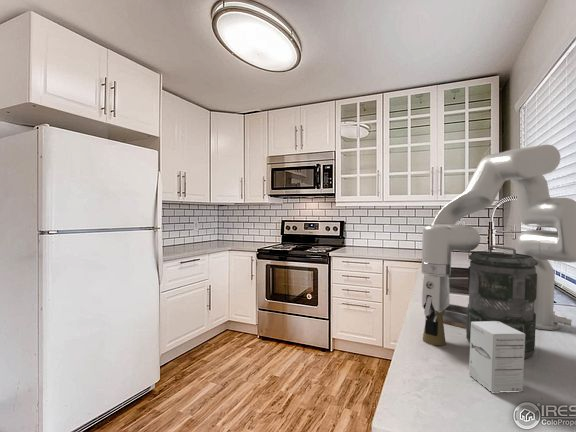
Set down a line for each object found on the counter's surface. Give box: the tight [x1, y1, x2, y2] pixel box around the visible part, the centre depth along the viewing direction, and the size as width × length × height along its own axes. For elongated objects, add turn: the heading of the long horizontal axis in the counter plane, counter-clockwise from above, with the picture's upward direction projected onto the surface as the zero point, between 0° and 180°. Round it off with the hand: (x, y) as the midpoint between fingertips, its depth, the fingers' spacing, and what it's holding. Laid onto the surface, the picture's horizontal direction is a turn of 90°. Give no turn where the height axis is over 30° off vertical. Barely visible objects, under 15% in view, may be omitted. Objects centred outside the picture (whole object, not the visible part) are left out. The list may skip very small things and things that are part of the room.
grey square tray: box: [443, 303, 468, 329], centre depth 108 cm, size 10×10×4 cm
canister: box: [465, 244, 538, 359], centre depth 88 cm, size 16×16×28 cm
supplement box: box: [468, 321, 525, 393], centre depth 69 cm, size 7×7×13 cm
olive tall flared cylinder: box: [422, 308, 446, 346], centre depth 91 cm, size 6×6×11 cm
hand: (433, 331), depth 91 cm, fingers closed on olive tall flared cylinder, 3 cm apart
